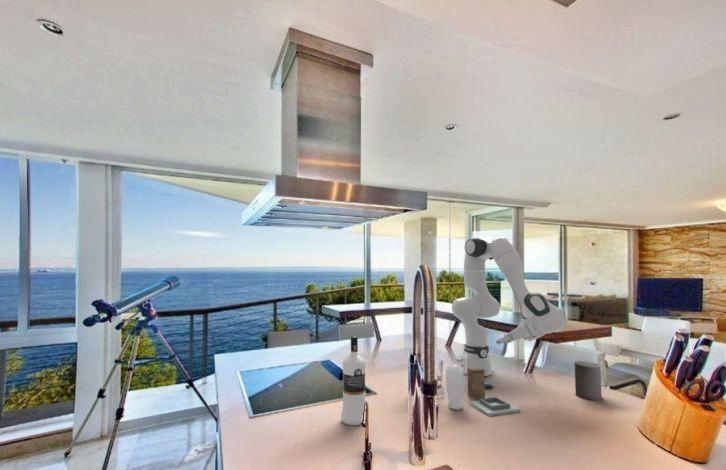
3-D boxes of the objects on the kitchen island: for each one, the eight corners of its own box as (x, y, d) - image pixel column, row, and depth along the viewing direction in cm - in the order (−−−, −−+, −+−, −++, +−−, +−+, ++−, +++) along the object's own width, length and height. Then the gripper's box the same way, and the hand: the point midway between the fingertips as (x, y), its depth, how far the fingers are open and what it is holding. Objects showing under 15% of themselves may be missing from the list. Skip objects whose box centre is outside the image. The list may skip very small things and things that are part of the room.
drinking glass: (444, 409, 142) (443, 369, 143) (449, 403, 148) (448, 365, 149) (462, 412, 139) (461, 372, 140) (466, 406, 145) (465, 367, 146)
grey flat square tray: (470, 404, 147) (470, 398, 147) (499, 400, 151) (499, 394, 151) (488, 416, 135) (488, 409, 135) (519, 411, 139) (519, 404, 139)
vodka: (363, 414, 137) (363, 333, 139) (369, 425, 128) (369, 338, 130) (339, 417, 135) (339, 334, 137) (343, 427, 126) (344, 339, 128)
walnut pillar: (467, 396, 156) (467, 367, 157) (477, 394, 157) (477, 366, 158) (474, 400, 151) (474, 370, 152) (485, 398, 153) (484, 369, 154)
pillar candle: (571, 395, 157) (570, 359, 158) (581, 390, 163) (580, 356, 164) (596, 402, 149) (594, 365, 150) (605, 397, 155) (604, 361, 156)
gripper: (520, 325, 167) (491, 337, 168) (529, 319, 148) (497, 332, 149) (527, 339, 165) (498, 350, 165) (537, 334, 146) (505, 347, 147)
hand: (498, 342), depth 157 cm, fingers open, 8 cm apart
